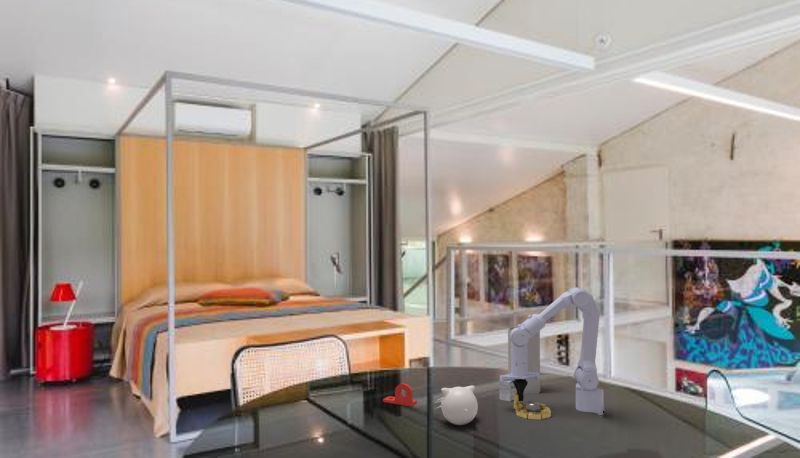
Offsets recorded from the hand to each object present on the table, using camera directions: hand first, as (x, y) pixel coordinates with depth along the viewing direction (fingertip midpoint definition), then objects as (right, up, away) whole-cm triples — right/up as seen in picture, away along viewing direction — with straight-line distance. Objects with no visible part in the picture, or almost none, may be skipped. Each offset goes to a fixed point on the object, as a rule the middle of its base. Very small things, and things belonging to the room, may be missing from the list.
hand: (520, 400), depth 199 cm
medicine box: (-1, -5, +12) cm, 13 cm away
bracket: (-43, -5, +12) cm, 45 cm away
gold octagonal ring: (+2, -3, -6) cm, 7 cm away
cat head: (-23, -5, -12) cm, 26 cm away
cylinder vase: (+7, -5, +26) cm, 27 cm away
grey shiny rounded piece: (+3, -4, -7) cm, 8 cm away
